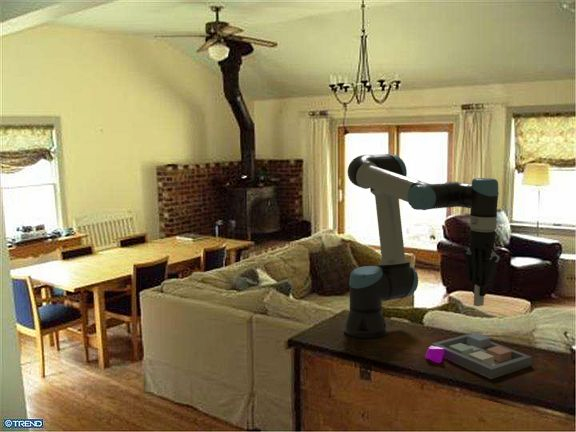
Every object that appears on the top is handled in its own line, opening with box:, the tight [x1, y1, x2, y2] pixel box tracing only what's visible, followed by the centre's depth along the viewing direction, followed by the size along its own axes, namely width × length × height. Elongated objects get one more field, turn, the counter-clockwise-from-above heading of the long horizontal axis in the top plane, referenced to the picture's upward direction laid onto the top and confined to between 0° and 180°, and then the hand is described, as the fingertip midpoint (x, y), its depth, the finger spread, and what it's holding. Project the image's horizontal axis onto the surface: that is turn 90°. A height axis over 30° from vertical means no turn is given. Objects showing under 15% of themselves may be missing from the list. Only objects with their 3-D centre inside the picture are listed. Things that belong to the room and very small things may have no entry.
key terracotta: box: [486, 346, 512, 362], centre depth 170 cm, size 5×5×2 cm
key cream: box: [469, 351, 494, 365], centre depth 166 cm, size 5×5×2 cm
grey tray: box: [430, 333, 533, 380], centre depth 172 cm, size 24×18×3 cm
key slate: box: [467, 332, 492, 348], centre depth 177 cm, size 5×5×2 cm
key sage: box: [449, 343, 473, 357], centre depth 173 cm, size 5×5×2 cm
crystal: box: [424, 345, 445, 364], centre depth 171 cm, size 5×5×5 cm
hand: (478, 305), depth 167 cm, fingers closed
